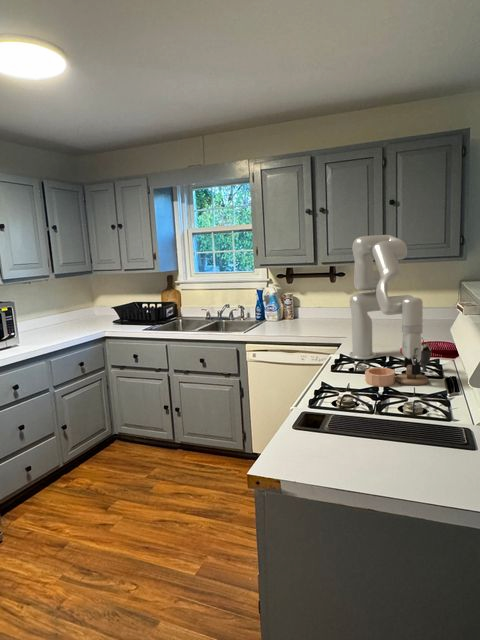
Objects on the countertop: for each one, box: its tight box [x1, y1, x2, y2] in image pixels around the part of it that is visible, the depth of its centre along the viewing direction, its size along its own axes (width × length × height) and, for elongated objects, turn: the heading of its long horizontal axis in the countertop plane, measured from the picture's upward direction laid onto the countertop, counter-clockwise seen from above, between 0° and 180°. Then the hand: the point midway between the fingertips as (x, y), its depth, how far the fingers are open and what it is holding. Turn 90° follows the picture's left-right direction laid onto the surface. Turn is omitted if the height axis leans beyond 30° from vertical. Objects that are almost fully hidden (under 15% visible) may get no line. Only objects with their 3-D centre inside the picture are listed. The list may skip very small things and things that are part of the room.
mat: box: [397, 381, 433, 387], centre depth 179 cm, size 12×12×1 cm
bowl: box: [364, 366, 396, 388], centre depth 180 cm, size 11×11×5 cm
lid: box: [395, 365, 429, 387], centre depth 178 cm, size 12×12×6 cm
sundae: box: [421, 336, 434, 373], centre depth 189 cm, size 7×7×15 cm
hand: (412, 370), depth 178 cm, fingers open, 9 cm apart
